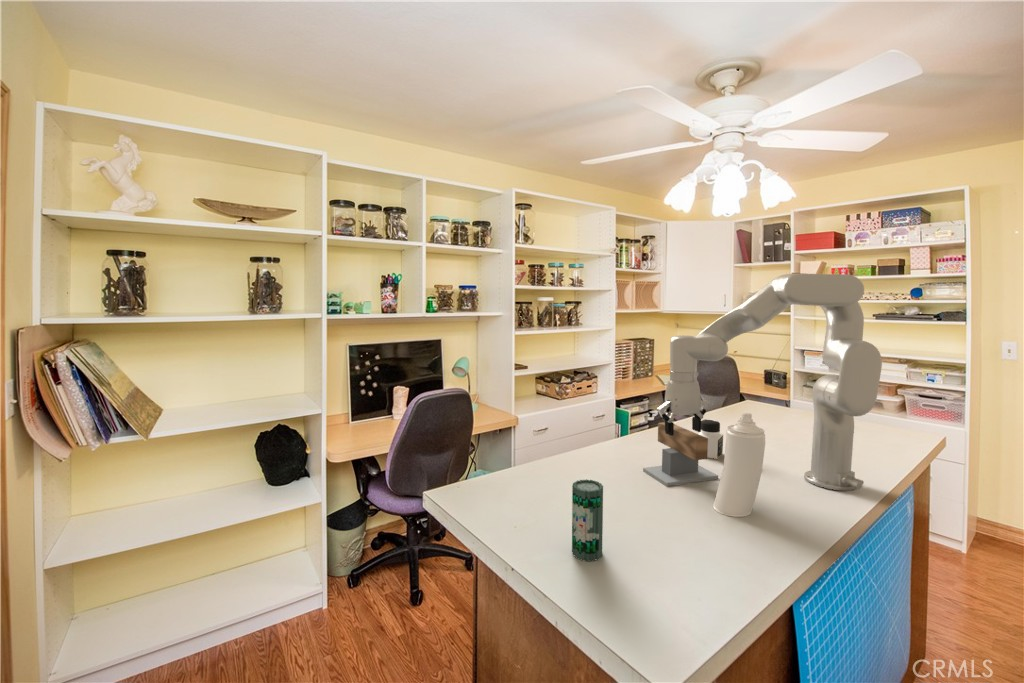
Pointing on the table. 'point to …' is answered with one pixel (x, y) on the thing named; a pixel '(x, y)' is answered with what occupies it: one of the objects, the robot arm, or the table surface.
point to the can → (587, 519)
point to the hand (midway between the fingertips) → (683, 432)
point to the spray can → (741, 468)
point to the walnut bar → (684, 442)
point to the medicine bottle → (712, 437)
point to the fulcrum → (678, 469)
